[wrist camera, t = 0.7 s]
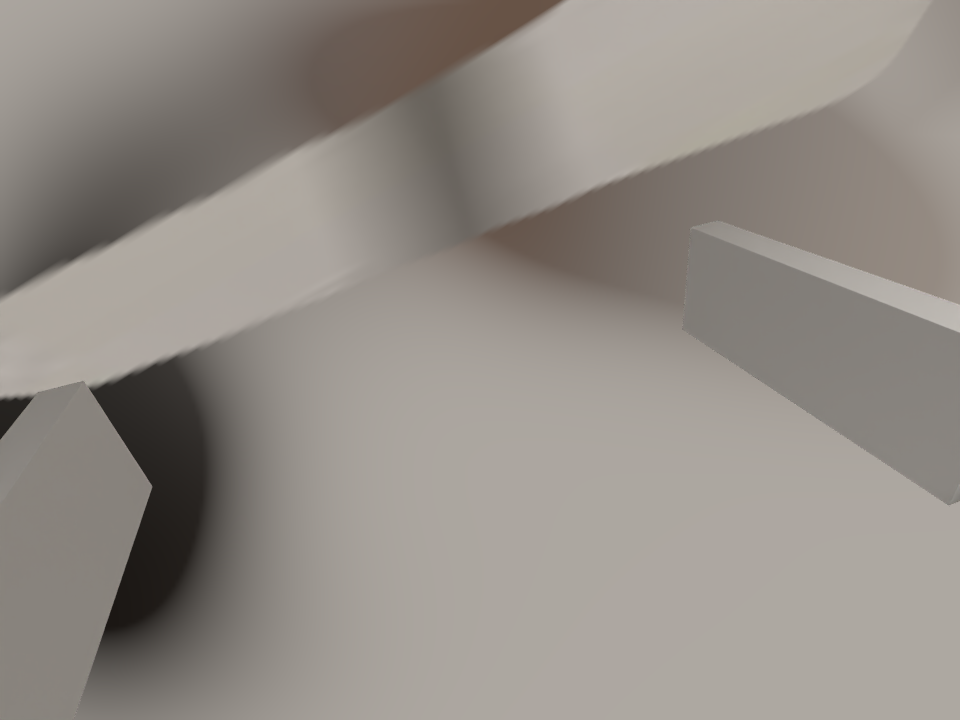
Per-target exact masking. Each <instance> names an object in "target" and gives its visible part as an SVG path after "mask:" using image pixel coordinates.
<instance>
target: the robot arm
mask: <svg viewBox="0 0 960 720" xmlns="http://www.w3.org/2000/svg"><path fill="white" fill-rule="evenodd" d="M682 329H683V330H684V331H686V332H687V333H688V334H690V335H692V336H693V337H695V338H696V339H698V340H699V341H701V342H702V343H704V344H705V345H707V346H708V347H710V348H711V349H713V350H715V351H716V352H717V353H719V354H720V355H722V356H723V357H725V358H726V359H728V360H729V361H731V362H732V363H734V364H736V365H737V366H739V367H740V368H742V369H743V370H744V371H746V372H748V373H749V374H751V375H752V376H754V377H755V378H757V379H758V380H760V381H761V382H763V383H764V384H766V385H767V386H769V387H770V388H772V389H773V390H775V391H776V392H778V393H779V394H781V395H782V396H784V397H785V398H787V399H788V400H790V401H791V402H793V403H794V404H796V405H797V406H799V407H801V408H802V409H803V410H805V411H807V412H808V413H810V414H811V415H813V416H814V417H816V418H817V419H819V420H820V421H822V422H824V423H825V424H826V425H828V426H829V427H831V428H832V429H834V430H835V431H837V432H838V433H840V434H842V435H843V436H845V437H846V438H847V439H849V440H851V441H852V442H854V443H855V444H857V445H858V446H860V447H861V448H863V449H864V450H866V451H867V452H869V453H870V454H872V455H873V456H875V457H876V458H878V459H879V460H881V461H882V462H884V463H885V464H887V465H888V466H890V467H891V468H893V469H894V470H896V471H898V472H899V473H900V474H902V475H903V476H905V477H906V478H908V479H910V480H911V481H912V482H914V483H916V484H917V485H919V486H920V487H922V488H923V489H925V490H926V491H928V492H929V493H931V494H932V495H934V496H935V497H937V498H938V499H940V500H941V501H943V502H944V503H946V504H947V505H951V504H953V503H955V502H958V501H960V305H959V304H956V303H953V302H950V301H947V300H944V299H941V298H939V297H936V296H933V295H930V294H927V293H924V292H921V291H919V290H916V289H913V288H910V287H907V286H904V285H901V284H899V283H896V282H893V281H890V280H887V279H884V278H881V277H879V276H876V275H873V274H870V273H867V272H864V271H861V270H858V269H856V268H853V267H850V266H847V265H844V264H841V263H839V262H835V261H833V260H830V259H827V258H824V257H821V256H819V255H816V254H813V253H810V252H807V251H804V250H801V249H798V248H796V247H793V246H789V245H787V244H784V243H781V242H778V241H776V240H772V239H770V238H767V237H764V236H761V235H758V234H755V233H753V232H750V231H747V230H744V229H741V228H738V227H736V226H733V225H730V224H727V223H724V222H721V221H715V222H711V223H707V224H703V225H699V226H695V227H691V232H690V244H689V257H688V268H687V280H686V292H685V304H684V316H683V328H682ZM151 489H152V485H151V484H150V482H149V481H148V479H147V478H146V476H145V475H144V473H143V472H142V470H141V468H140V467H139V465H138V464H137V462H136V461H135V459H134V458H133V456H132V455H131V453H130V452H129V450H128V449H127V447H126V446H125V444H124V442H123V441H122V439H121V438H120V436H119V435H118V433H117V432H116V430H115V428H114V427H113V425H112V424H111V422H110V421H109V419H108V418H107V416H106V415H105V413H104V411H103V410H102V408H101V407H100V405H99V404H98V402H97V401H96V399H95V397H94V396H93V394H92V393H91V391H90V390H89V388H88V387H87V385H86V384H85V382H84V381H81V382H77V383H73V384H69V385H65V386H62V387H58V388H54V389H50V390H46V391H42V392H38V393H37V395H36V396H35V397H34V398H33V400H32V401H31V402H30V403H29V405H28V406H27V407H26V409H25V410H24V411H23V412H22V414H21V415H20V416H19V417H18V419H17V420H16V421H15V422H14V424H13V425H12V427H11V428H10V429H9V430H8V431H7V433H6V434H5V435H4V437H3V438H2V439H1V440H0V720H74V718H75V715H76V712H77V709H78V706H79V703H80V700H81V697H82V693H83V691H84V688H85V685H86V682H87V679H88V676H89V673H90V670H91V667H92V664H93V661H94V658H95V654H96V652H97V649H98V646H99V643H100V640H101V637H102V634H103V631H104V628H105V625H106V622H107V620H108V617H109V614H110V610H111V608H112V605H113V602H114V599H115V595H116V593H117V589H118V586H119V584H120V580H121V578H122V575H123V572H124V569H125V566H126V563H127V560H128V557H129V554H130V551H131V548H132V545H133V542H134V539H135V536H136V533H137V530H138V527H139V524H140V521H141V518H142V515H143V512H144V509H145V506H146V503H147V500H148V498H149V495H150V492H151Z"/></svg>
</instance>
